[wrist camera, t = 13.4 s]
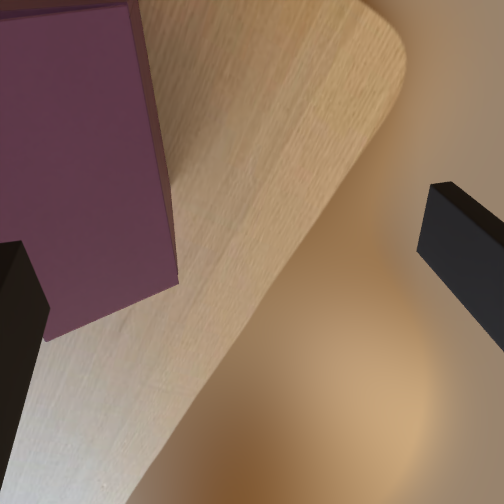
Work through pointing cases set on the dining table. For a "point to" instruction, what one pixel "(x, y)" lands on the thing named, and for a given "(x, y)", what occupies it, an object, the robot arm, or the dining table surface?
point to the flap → (80, 165)
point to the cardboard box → (37, 3)
